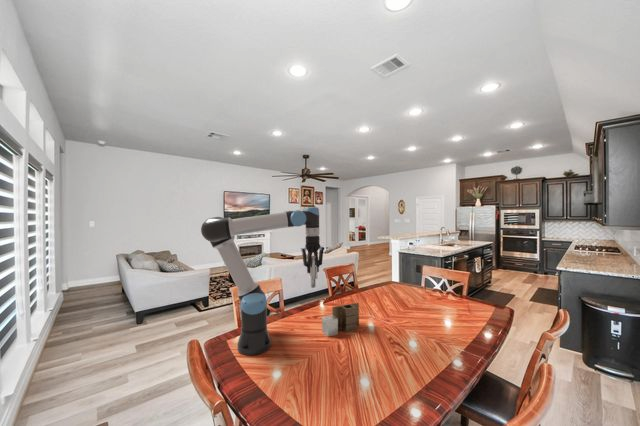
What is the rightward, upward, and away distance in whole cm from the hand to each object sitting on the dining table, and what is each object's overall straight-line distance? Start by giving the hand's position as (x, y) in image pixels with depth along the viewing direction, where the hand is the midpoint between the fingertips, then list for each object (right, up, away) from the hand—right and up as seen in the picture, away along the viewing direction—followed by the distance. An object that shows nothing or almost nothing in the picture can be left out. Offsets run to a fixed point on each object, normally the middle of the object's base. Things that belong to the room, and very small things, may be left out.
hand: (313, 278), depth 144 cm
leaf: (+14, -26, -5) cm, 30 cm away
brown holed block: (+21, -26, -2) cm, 34 cm away
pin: (0, -5, 0) cm, 5 cm away
